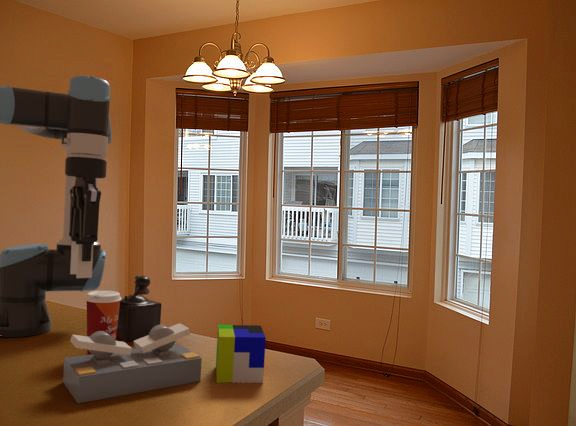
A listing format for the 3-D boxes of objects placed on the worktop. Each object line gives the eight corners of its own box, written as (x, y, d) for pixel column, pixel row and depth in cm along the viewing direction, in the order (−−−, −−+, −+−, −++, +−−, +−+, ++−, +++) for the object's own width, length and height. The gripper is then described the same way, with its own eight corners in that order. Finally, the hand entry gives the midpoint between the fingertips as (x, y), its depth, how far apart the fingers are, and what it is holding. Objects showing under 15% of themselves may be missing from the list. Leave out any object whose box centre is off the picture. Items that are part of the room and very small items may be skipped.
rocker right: (136, 354, 110) (131, 333, 109) (182, 335, 116) (178, 316, 115) (144, 360, 106) (139, 339, 105) (191, 341, 112) (187, 321, 111)
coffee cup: (106, 362, 116) (110, 298, 116) (74, 358, 118) (78, 294, 117) (125, 352, 124) (128, 291, 124) (95, 348, 126) (98, 288, 126)
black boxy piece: (104, 334, 138) (107, 269, 138) (139, 328, 147) (142, 266, 146) (136, 347, 128) (140, 277, 128) (172, 340, 137) (175, 274, 136)
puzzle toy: (263, 382, 110) (265, 337, 109) (216, 382, 108) (219, 336, 108) (258, 367, 120) (260, 325, 119) (215, 367, 118) (218, 324, 118)
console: (63, 382, 103) (64, 355, 103) (177, 364, 118) (178, 340, 118) (77, 403, 93) (79, 373, 93) (200, 381, 108) (201, 355, 108)
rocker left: (67, 349, 101) (75, 326, 102) (119, 356, 108) (126, 334, 108) (73, 356, 97) (81, 332, 98) (127, 363, 104) (134, 340, 104)
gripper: (56, 156, 104) (51, 269, 104) (77, 153, 90) (71, 284, 90) (94, 160, 108) (88, 268, 109) (119, 157, 94) (113, 282, 95)
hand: (80, 275), depth 100 cm, fingers open, 4 cm apart
